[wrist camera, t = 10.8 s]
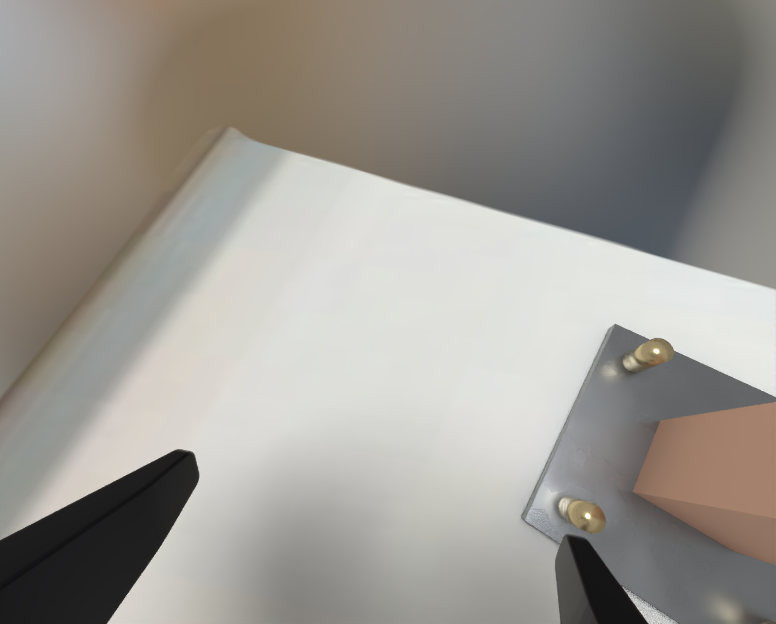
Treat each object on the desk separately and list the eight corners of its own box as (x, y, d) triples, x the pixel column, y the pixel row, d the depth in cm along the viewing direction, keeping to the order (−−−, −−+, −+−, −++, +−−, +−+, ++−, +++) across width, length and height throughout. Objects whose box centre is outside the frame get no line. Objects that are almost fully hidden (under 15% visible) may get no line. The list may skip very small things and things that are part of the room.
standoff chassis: (793, 699, 15) (884, 761, 12) (521, 518, 19) (537, 530, 16) (853, 441, 18) (938, 438, 15) (609, 328, 22) (637, 307, 19)
